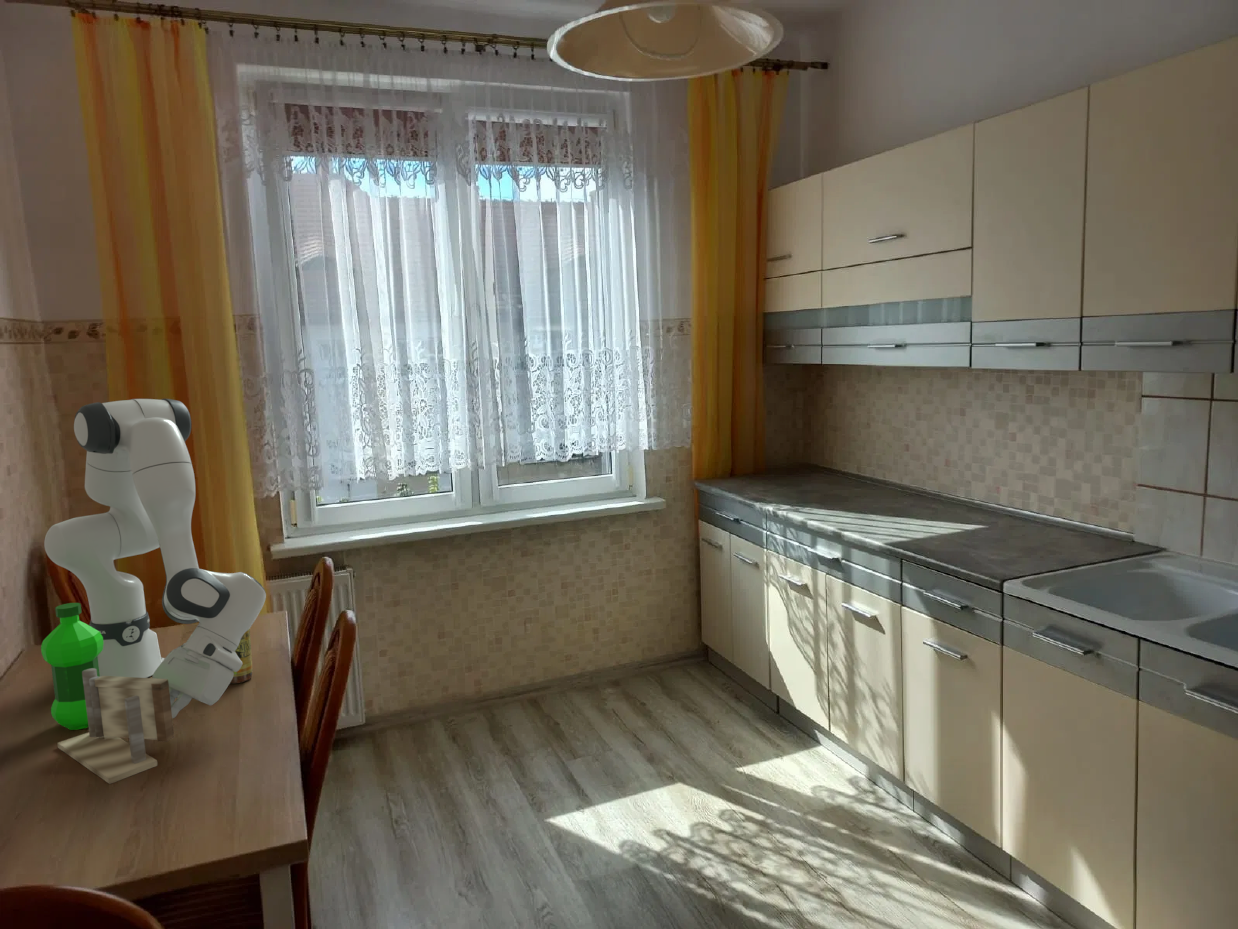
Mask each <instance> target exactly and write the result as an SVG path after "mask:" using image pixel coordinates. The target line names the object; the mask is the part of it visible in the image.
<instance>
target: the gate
mask: <svg viewBox="0 0 1238 929" xmlns="http://www.w3.org/2000/svg"><path fill="white" fill-rule="evenodd" d="M89 683H90V691H91V700H92V708H93V716H94V725H95V733H96V737H103V736H111V737H119V738H128V739H129V734H128V725H127V716H126V707H125V699H126V698H129V697H133V696H136V695H137V696H139V699H140V708H141V717H142V726H143V735H144V740H153V741H154V740H155V741H156V740H157V742H163V743H168V742H169V741H170V740H172V739H174V738H175V731H174V724H173V718H172V712H171V702H170V693H169V683H168V679H157V678H152V677H147V678H137V677H118V676H101V677H99V676H98V677H93V678H90V679H89Z"/></svg>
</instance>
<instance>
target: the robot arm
mask: <svg viewBox="0 0 1238 929" xmlns="http://www.w3.org/2000/svg"><path fill="white" fill-rule="evenodd" d="M73 421H74V423H73V430H74V435H75V438H76V441H77V443H78V445H79V446H80V447H81V448H82V449H84V450H85V451H86V456H85V457H86V459H85V460H86V461H85V473H84V490H85V492H86V495H87V496H88V497H89V498H90V499H92V501H94V502H96V503H98V504H101V505H103V506H107V507H109V510H108V511H107V512H103V513H96V514H90V515H83V516H77V517H73V518H70V519H67V520H64V521H60V522H58V523H55V524H52V525H51V526H50V527H49V529H48V530H47V532H46V534H45V538H44V544H43V545H44V550H45V553H46V555H47V557H48V558H49V559H50V561H52V562H53V563H54V564H55V565H57V566H59V567H61V568H64V569H66V570H67V571H70V572H71V573H72V574H74V576H76V577H77V579H79V581H80V583H81V584H82V585H83V587H84V589H85V592H86V596H87V600H88V605H89V612H90V621H89V626H91V627H92V628H94V629H96V630H98V631H99V632H100V633H101V635H102V637H103V643H104V644H103V650H102V651H101V653H100V654H99V655H98V665H99V673H100V677H101V676H118V677H137V678H150V677H151V676H152V677H151V678H157V679H168V683H169V693H170V702H171V712H172V719H175V718H176V717H177V716H178V714H179V713H180V711H182V710H183V709H184V708H185V707H187V706H188V705H189V704H190V702H191V700H192V699H193V700H196V701H198V702H201V703H203V704H206V705H208V706H213V705H214V704H215V703H217V702H218V701H219V700H220V699H221V697H222V695H223V694H224V693H225V691H226V690H227V688H228V686H230V682H231V680H232V678H233V675H234V673H233V671H234V672H237V671H239V669H240V668H241V666H242V664H243V663H242V661H241V660H240V658H239V657H238V656H237V654H236V653H235V650H236V649H237V647H238V646H239V643H240V640H241V638H242V636H243V635H244V633H245V632H246V631H247V630H249V629H250V630H251V627H252V626H253V624H254V623H255V621H256V619H257V618H258V616H259V614H260V612H261V611H262V609H263V608H264V604H265V601H266V599H267V593H266V590H265V588H264V586H263V585H262V584H261V583H260V582H259V581H258V580H257V579H256V578H254V577H253V576H251V575H249V574H248V573H246V572H242V571H239V572H234V573H233V572H231V573H230V572H228V573H227V572H218V571H217V572H216V571H210V570H206V569H202V568H200V566H199V563H198V558H197V553H196V549H195V545H194V541H193V535H192V517H193V512H194V511H193V510H194V507H195V501H196V479H195V473H194V472H195V471H194V468H193V464H192V463H193V462H192V460H191V456H190V453H189V450H188V447H187V445H186V441H187V440H188V439H189V437H190V435H191V432H192V418H191V413H190V412H189V409H188V407H187V406H186V405H185V404H184V403H183V402H182V401H180V400H176V399H171V398H161V399H156V398H155V399H153V398H132V399H127V400H115V401H114V400H113V401H108V402H102V403H101V402H99V401H97V402H93V403H88V404H85V405H82V406H81V407H79V408H78V410H77V411H76V413H75V416H74V420H73ZM156 549H160V553H161V558H162V562H163V567H164V571H165V586H164V590H163V593H162V597H161V598H162V599H161V605H162V608H163V611H164V613H165V615H166V616H167V617H168V618H169V619H171V620H172V621H174V622H176V623H179V624H184V625H188V624H189V625H191V624H196V623H198V625H197V626H196V628H194V630H193V632H192V633H191V635H190V636H189V638H188V639H187V640H186V642H184V643H182V645H180V646H179V645H178V646H177V647H176V648H174V649H172V650H171V651H170V652H168V654H167V655H166V656H165V657H162V656H161V651H160V646H159V640H158V635H157V632H155V631H154V630H152V629H150V627H151V625H150V620H151V619H150V616H149V612H148V611H147V608H146V599H145V592H144V584H143V582H142V581H141V580H140V578H139V577H137V576H136V575H134V574H131V573H127V572H123V571H118V570H117V569H116V566H115V563H114V560H118V559H123V558H127V557H133V556H137V555H143V554H146V553H149V552H151V551H154V550H156Z"/></svg>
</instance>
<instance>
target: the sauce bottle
mask: <svg viewBox="0 0 1238 929" xmlns="http://www.w3.org/2000/svg"><path fill="white" fill-rule="evenodd" d="M235 653H236V654H237V656H238V657H239V658H240V660H241V661H242V663H243V664H242V666H241V668H240V669H239V671H237V672H234V671H233V673H234V675H233V678H232V680H231V682H230V684H240V683H244V682H247V681H249V680H250V679H251V678H252V676H253V671H254V670H253V669H254V668H253V657H252V645H251V628H250V629H249V630H247V631H246V632H245V633H244V635H243V636H242V638H241V640H240V643H239V646H238V647H237V649H236V650H235ZM230 684H229V685H230Z"/></svg>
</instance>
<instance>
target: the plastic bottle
mask: <svg viewBox="0 0 1238 929" xmlns="http://www.w3.org/2000/svg"><path fill="white" fill-rule="evenodd" d="M54 608H55V610H54V611H55V616H56V618H57V619H58V618H59V622H60V623H59V624H58V625H57V626H56V627H55V628H54V629H53V630H52V631H51V632H50V633H49V634H48V635H47V636H46V637H45V638H44V639H43V640H42V643H41V647H40V651H41V656H42V658H43V660H44V661H45V662H46V663H48V664H49V665H51V666H50V667H51V668H50V669H51V674H52V675H51V676H52V682H53V691H54V700H53V702H52V704H51V707H50V712H51V713H50V714H51V716H52V717H51V718H53V719H54V721H56V723H57V724H59V725H60V726H62V727H64V728H66V729H68V730H70V731H71V730H72V731H73V730H74V731H75V730H76V731H77V730H81V729H87V728H89V726H88V718H87V710H86V702H85V693H84V685H83V677H82V671H84V670H86V669H91V668H95V669H97V677H98V676H99V677H100V673H99V665H98V655H99V654H100V653H101V651H102V650H103V644H104V643H103V637H102V635H101V633H100V632H99V631H98V630H96V629H94V628H92V627H91V626H90V624H87V623H85V622H83V621H81V620H80V616H79V615H81V614H82V604H81V603H80V602H69V603H68V602H67V603H62V604H60V605H57V606H56V607H54Z"/></svg>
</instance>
